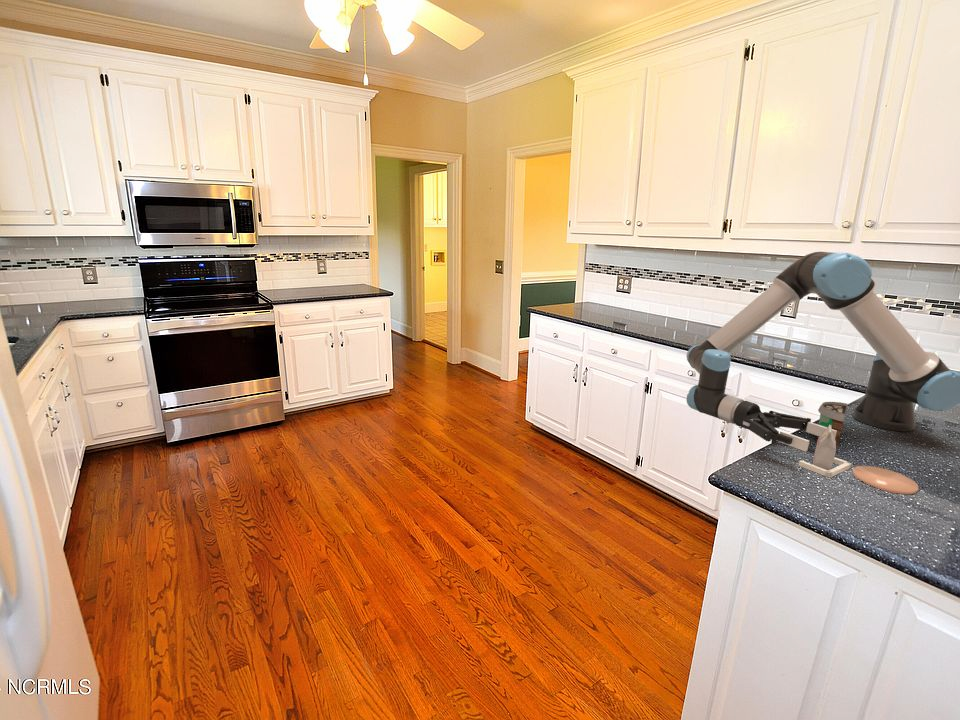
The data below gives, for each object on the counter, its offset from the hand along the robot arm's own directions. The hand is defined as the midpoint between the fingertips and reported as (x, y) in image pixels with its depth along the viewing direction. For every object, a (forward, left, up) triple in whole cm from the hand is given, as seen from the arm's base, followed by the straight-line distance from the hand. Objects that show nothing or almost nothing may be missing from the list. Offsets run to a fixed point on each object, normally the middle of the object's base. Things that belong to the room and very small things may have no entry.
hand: (821, 440), depth 119 cm
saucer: (-5, +12, -6) cm, 15 cm away
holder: (0, +1, -6) cm, 7 cm away
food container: (-20, -7, -7) cm, 22 cm away
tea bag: (-1, +1, -7) cm, 7 cm away
